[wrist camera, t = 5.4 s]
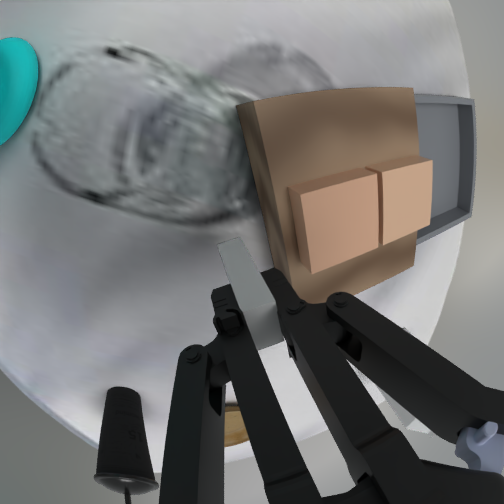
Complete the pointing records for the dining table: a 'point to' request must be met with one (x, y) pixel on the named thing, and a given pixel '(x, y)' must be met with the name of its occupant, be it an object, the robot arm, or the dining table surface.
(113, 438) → the drinking cup
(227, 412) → the plant saucer
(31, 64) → the donuts
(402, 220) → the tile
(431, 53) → the dining table surface
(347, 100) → the brown wooden board
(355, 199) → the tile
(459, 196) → the tray
